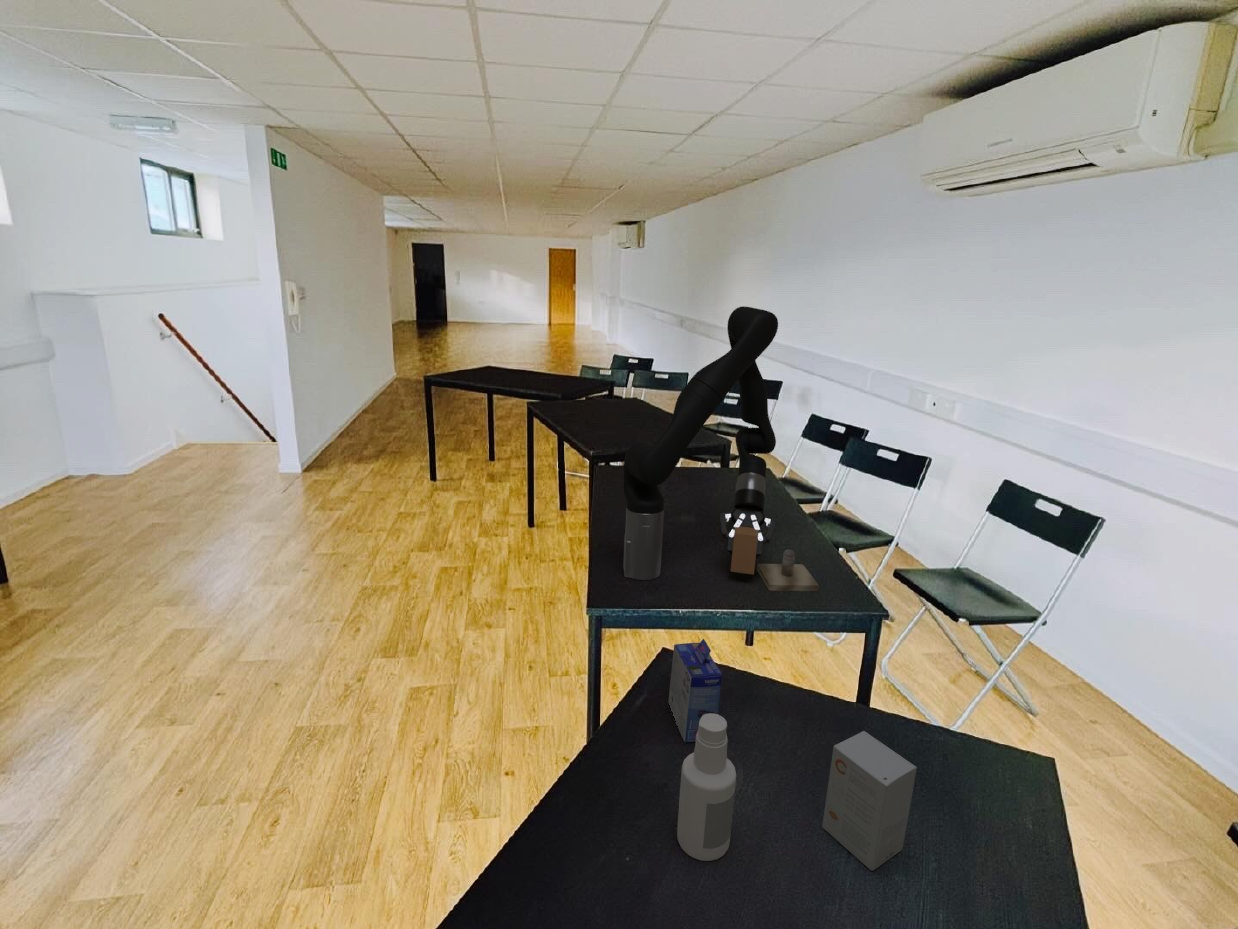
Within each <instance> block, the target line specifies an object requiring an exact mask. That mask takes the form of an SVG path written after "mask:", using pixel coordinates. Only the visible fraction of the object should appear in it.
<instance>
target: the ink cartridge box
mask: <svg viewBox="0 0 1238 929" xmlns="http://www.w3.org/2000/svg"><path fill="white" fill-rule="evenodd" d="M672 652H673V655H672V662H671V664H672V665H671V672H670V673H671V674H670V681H669V682H670V683H669V690H668V691H669V692H668V702H667V703H669V705H670V708H671V711H672V712H673V715H672V717H673V716H674V718H675V720H674V722H675V721H676V722H675V724H676V727H677V726H678V727H677V729H678V731H679V733H680V736H681V738H682V740H683V742H684V743H694V742H695V743H696V734H697V732H698V729H699V721H700V719H701V717H702V716H703V715H705V714H709V713H711V714H717V715H719V707H720V697H721V688H722V687H721V686H722V679H723V674H722V671H721V670H720V668H719V667H718V665H717V663H716V662H715V660H714V659H713V658H712V656H711V654H710V653H711V652H712V650H711V648H710V647H709V645H708V643H707V642H706V640H705V639H704V638H702V639H701V641H700V642H687V643H676V644H674V645H673V651H672ZM671 711H670V712H671ZM674 718H673V719H674Z"/></svg>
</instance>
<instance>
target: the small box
mask: <svg viewBox="0 0 1238 929" xmlns="http://www.w3.org/2000/svg"><path fill="white" fill-rule="evenodd" d="M917 769H918V768H917V766H916V765H914V764H913V763H911V762H910V761H909V760H907V759H905V758H904V757H903V756H901V755H900V754H898V753H897V752H895V751H894V750H893V749H891V748H889V747H888V746H887V745H885V744H883V743H882V742H881V741H880V740H878V739H877V738H875V737H874V736H872V735H871V734H869V733H868V732H866V731H865V730H862V731H861V732H859V733H857V734H855V735H853V736H851V737H849V738H847V739H845V740H843V741H841V742H839V743H836V744H833V748H832V754H831V763H830V769H829V776H828V784H827V789H826V795H825V797H826V798H825V803H824V810H823V817H822V823H821V827H822V829H823V830H825V831H826V832H827V833H828V834H829V835H830V836H832V838H833V839H835V840H836V841H837V842H838V843H839V844H840V845H841V846H842V847H844V848H845V849H846V850H847V851H848V852H850V854H852V855H853V856H854V857H855V858H856V859H857V860H858V861H859V862H861V864H863V865H864V866H865V867H866V868H867V869H869V871H871V872H873V871H874V870H876V869H877V868H879V867H880V866H882V865H883V864H885V863H886V862H888V861H889V860H890V859H892V858H893V857H894V856H896V855H897V854H898V853H900V852H902V850H903V847H904V842H905V837H906V832H907V826H908V820H909V814H910V809H911V803H912V797H913V793H914V792H913V791H914V786H915V780H916V774H917Z"/></svg>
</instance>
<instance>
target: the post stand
mask: <svg viewBox="0 0 1238 929" xmlns="http://www.w3.org/2000/svg"><path fill="white" fill-rule="evenodd" d="M782 555H783V556H782V563H757V564H756V571H757V573H758V574H759V576H760V578H761V579H762V581H763V583H764V584H765V586H766V588H767V589H768V591H774V592H775V591H778V592H779V591H781V592H784V591H785V592H787V591H788V592H792V591H793V592H818V591H819V587H820V585H819V583H818V582H817V581H816V579H815V578H814V577H813V576H812V574H811V573H810V571H809V570H808V569H807V567H806V566H805V565H804V564H802V563H799V564H798V563H797V564H795V559H796V553H795V551H794V550H792V549H790V548H789V549H786V550H784V551H783V554H782Z"/></svg>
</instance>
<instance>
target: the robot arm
mask: <svg viewBox="0 0 1238 929" xmlns="http://www.w3.org/2000/svg"><path fill="white" fill-rule="evenodd" d="M778 329H779V321H778V318H777V316H776V314H774V313H773V312H771V311H770V310H769V311H768V310H765V309H760V308H755V307H751V306H742V305H741V306H739V307H736V308H735V309H734V310H733V311H732V312H731V313H730V315H729V317H728V320H727V337H728V340H729V347H730V350H729V351H728V352H726V353H725V354H724V355H722V356H720V357H719V358H717V359H716V360H714V361H712V362H710V363H709V364H706V365H705V366H703V367H702V368H700V369H699V370H698V371H697V372H696V373H695V374H693V376H692V377H691V378H690V380H689V381H687V384H685V386H684V387H683V389H682V390H681V392H680V393H679V394H678V397H677V399H676V402H675V405H674V409H673V414H672V417H671V420H670V423H669V424H668V426H667V428H666V429H665V431H664V433H663V434H662V435H661V436H660V437H659V439H658V440H657V442H655V443H654V444H653V443H650V442H648V441H637V442H635V443H633V444H632V445H631V446H629V448H627V451H626V453H625V456H624V460H623V495H624V497H625V502H626V503H625V504H626V508H625V532H624V534H623V535H624V540H623V542H624V543H623V561H622V562H623V565H622V566H623V567H622V568H623V575H624V578H631V579H633V580H637V581H638V580H639V581H648V580H649V581H651V580H654V579H657V578H658V577H659V576H660V575H661V569H662V568H661V567H662V548H663V531H664V530H663V529H664V515H665V514H664V513H665V511H664V510H665V499H664V495H662V494H663V493H662V492H661V491H660V488H659V485H661V484H662V483H664V482H665V481H667V479H668V478H669V477H670V476H671V474H672V473H673V471H674V470H675V468H676V466H677V465H678V463H679V462H680V460H681V458H682V456H683V455H684V453H686V452H685V451H686V450H687V449H688V447H689V446H690V444H691V443H692V442H693V440H694V439H695V437H696V436H697V435H698V433H699V432H700V431H701V429H702V427H703V426H704V425H705V424H706V422H707V421H708V419H709V418H710V417H712V415H713V413H714V412H715V411H716V410H717V408H718V407H719V406H720V404H721V403H723V400H724V399H725V397H726V396H727V395H728V394H729V392H730V391H731V389H732V388H734V386H735V384H738V389H739V403H740V404H739V406H740V410H739V411H740V417H741V420H742V421H743V422H744V423H746V424H749V425H753V426H756V427H742V428H740V429H738V431H737V432H736V434H735V439H734V440H735V445H736V450H737V453H738V460H739V461H738V463H739V464H738V465H739V466H738V475H737V480H736V484H735V489H734V490H735V491H734V501H733V508H732V509H733V510H732V512H730V513H725V512H721V513H720V516H719V517H720V518H719V519H720V531H721V538H723V539H727V540H728V541H727V550H726V551H727V553H729V555H730V556H732V552H733V542H734V533H735V527H740V526H743V527H751V528H754V529H756V530H758V542H757V551H756V559H758V558H759V557H761V556H762V552H763V545H764V544H767V545H768V544H770V542H771V539H772V536H773V532H774V530H775V526H776V519H775V518H774V517H773V518H767V517H766V516H765V514H764V512H765V498H766V485H767V484H766V479H767V478H766V475H767V461H766V459H764V458H763V457H762V456H758V455H760V454H761V455H763V454H764V455H767V454H771V453H772V452H774V450H775V448H776V445H777V439H776V433H775V432H774V429H773V426H772V424H771V420H770V416H769V406H768V403H769V400H768V391H767V386H766V383H765V381H764V378H763V376H762V373H761V371H760V370H759V367H758V365H757V361H756V360H757V359H758V358H759V357H760V356H761V355H762V354H763V353H764V351H766V350H767V348H768V347H769V346H770V345H771V343H772V342H773V340H774V339H775V337H776V334H777V333H778ZM737 382H738V383H737ZM754 454H755V455H754ZM756 454H757V455H756ZM729 520H731V521H732V523H733V524H734V525H733V527H732V529H731V531H730V532H729V531H728V529H727V523H729ZM763 524H765V527H766V528H767V531H766V535H765V536H763V535H762V531H761V528H760V527H761V526H762V525H763Z"/></svg>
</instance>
